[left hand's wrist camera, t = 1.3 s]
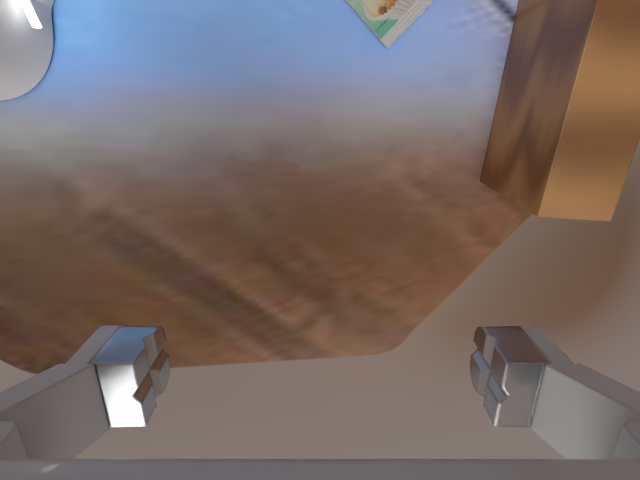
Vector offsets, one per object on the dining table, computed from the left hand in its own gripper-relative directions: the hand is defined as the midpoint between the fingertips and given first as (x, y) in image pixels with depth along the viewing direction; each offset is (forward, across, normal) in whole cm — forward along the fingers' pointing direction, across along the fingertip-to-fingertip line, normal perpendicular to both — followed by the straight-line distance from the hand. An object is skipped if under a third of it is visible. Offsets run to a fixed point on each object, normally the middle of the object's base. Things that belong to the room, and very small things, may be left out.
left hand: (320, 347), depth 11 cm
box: (+35, -22, -9) cm, 42 cm away
